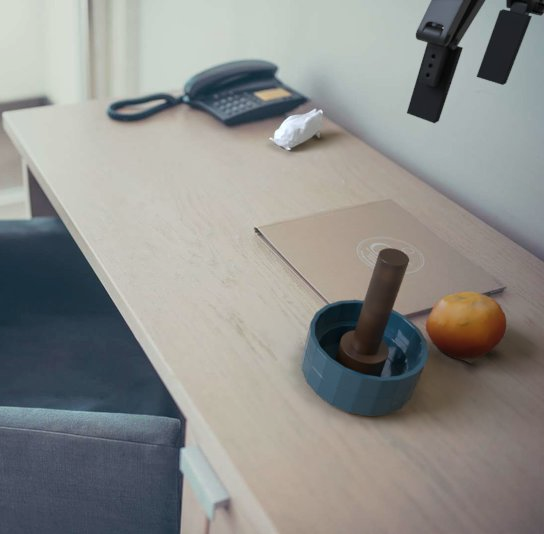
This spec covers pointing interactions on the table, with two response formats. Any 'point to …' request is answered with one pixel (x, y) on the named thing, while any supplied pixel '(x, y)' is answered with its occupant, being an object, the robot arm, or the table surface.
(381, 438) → the table surface
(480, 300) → the fruit
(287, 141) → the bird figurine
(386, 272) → the muddler
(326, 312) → the bowl
